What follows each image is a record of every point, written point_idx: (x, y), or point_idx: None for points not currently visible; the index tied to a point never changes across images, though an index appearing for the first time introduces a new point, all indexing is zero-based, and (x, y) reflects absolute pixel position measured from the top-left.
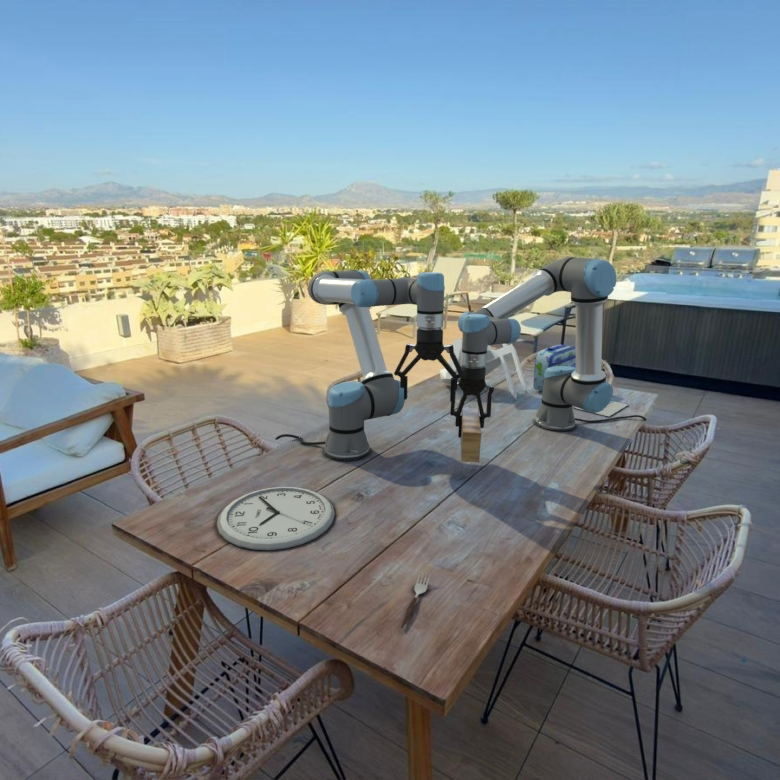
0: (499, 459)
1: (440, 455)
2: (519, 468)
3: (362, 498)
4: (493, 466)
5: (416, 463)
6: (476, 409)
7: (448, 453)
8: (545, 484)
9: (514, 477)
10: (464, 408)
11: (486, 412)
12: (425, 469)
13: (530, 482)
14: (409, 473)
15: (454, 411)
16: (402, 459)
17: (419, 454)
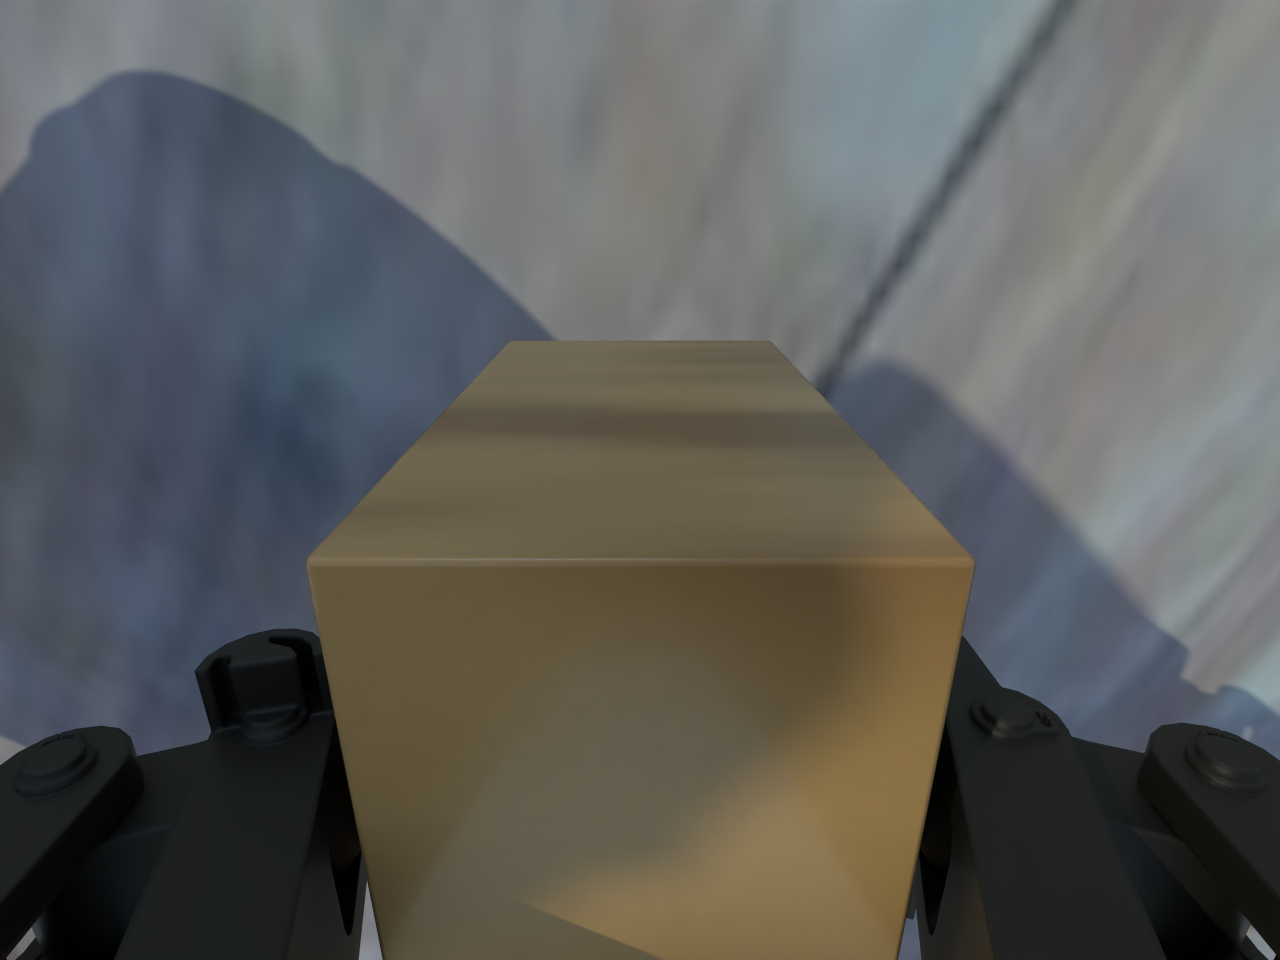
0: (992, 226)
1: (354, 222)
2: (1133, 413)
3: (12, 954)
4: (891, 407)
5: (167, 453)
6: (876, 734)
7: (434, 147)
8: (1235, 660)
9: (1026, 587)
10: (419, 692)
11: (1168, 863)
12: (279, 555)
13: (1128, 647)
14: (172, 638)
15: (137, 897)
16: (5, 386)
17: (126, 232)
